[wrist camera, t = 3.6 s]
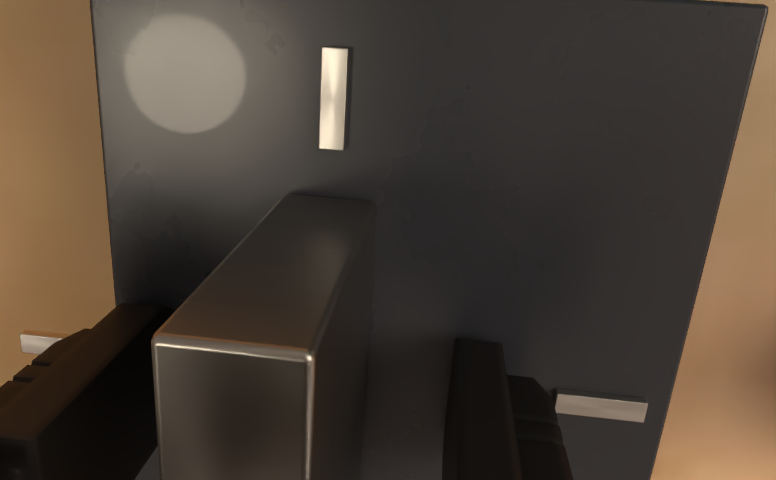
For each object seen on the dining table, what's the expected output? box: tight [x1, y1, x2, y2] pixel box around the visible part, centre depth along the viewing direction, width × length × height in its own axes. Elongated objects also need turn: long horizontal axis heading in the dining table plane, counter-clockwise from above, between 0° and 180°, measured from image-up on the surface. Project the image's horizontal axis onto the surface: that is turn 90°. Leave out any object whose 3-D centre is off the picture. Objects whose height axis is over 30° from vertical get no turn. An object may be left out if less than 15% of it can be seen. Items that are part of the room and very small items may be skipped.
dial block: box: [19, 0, 768, 480], centre depth 12 cm, size 11×11×3 cm
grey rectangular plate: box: [151, 194, 377, 480], centre depth 8 cm, size 6×1×5 cm, turn 176°
